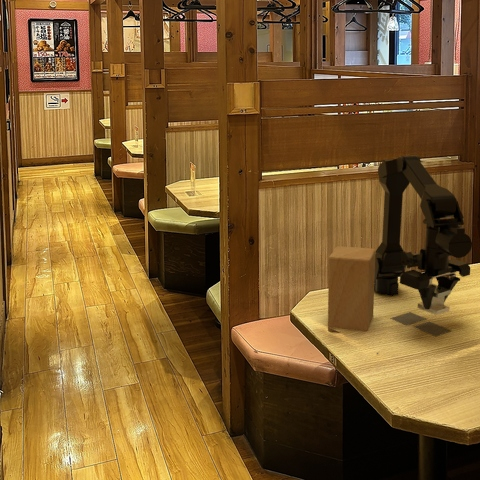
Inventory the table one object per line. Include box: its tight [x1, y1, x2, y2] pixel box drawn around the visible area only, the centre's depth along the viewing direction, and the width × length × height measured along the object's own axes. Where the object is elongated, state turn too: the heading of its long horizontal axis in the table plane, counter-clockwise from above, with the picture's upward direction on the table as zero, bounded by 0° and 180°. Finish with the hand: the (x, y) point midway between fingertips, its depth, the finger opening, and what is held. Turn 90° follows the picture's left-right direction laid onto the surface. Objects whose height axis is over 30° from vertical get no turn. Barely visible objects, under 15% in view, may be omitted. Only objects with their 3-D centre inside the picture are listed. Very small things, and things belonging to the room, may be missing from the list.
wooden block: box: [327, 245, 376, 334], centre depth 167 cm, size 10×10×20 cm
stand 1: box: [390, 311, 427, 326], centre depth 171 cm, size 6×7×2 cm
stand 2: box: [413, 321, 452, 338], centre depth 164 cm, size 7×6×2 cm
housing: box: [417, 282, 452, 316], centre depth 162 cm, size 4×6×6 cm
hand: (433, 306), depth 163 cm, fingers closed on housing, 4 cm apart
